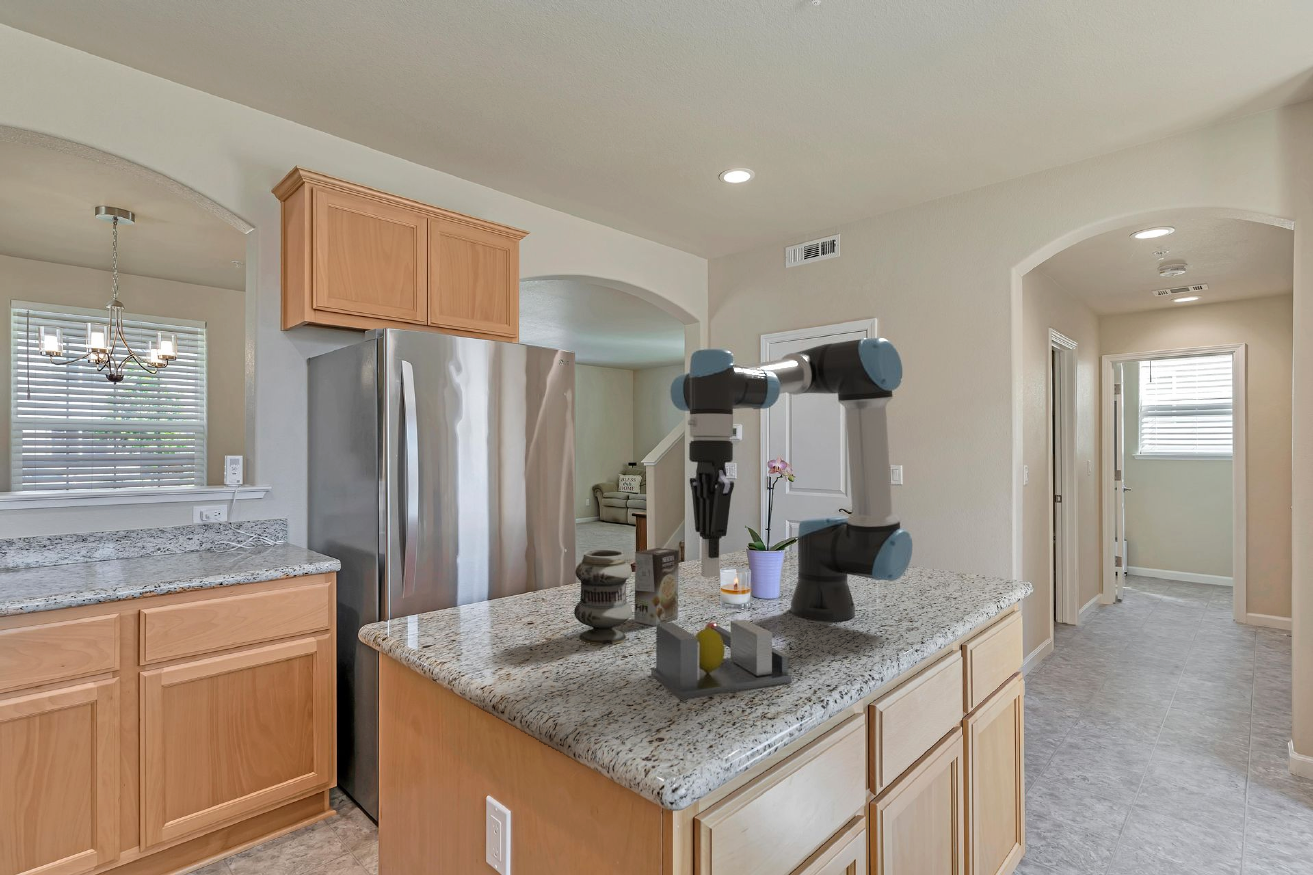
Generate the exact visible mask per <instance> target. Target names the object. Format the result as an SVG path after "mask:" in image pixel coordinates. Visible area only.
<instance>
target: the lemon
mask: <svg viewBox="0 0 1313 875" xmlns="http://www.w3.org/2000/svg"><path fill="white" fill-rule="evenodd" d="M705 627H706V626H705ZM694 636H695V637H697V638H698V642H699V668H700V669H702V670H704V671H705V673H706V674H710V673H711V672H712V671H713V670H715V669H717V668H718V667H719V666H720V665H721V663H722V661H723V659H724V658H725V645H724V644H723V640H722V638H721V636H720V634H719V633H718V632H716V631H715V630H713V629H711V628H710V627H706V628H704V629H700V630H699V631H698V632H697V633H696V634H695V635H694Z"/></svg>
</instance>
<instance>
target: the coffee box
mask: <svg viewBox="0 0 1313 875" xmlns="http://www.w3.org/2000/svg"><path fill="white" fill-rule="evenodd" d="M634 559H635V562H634V563H635V564H634V568H635V569H634V610H633V611H634V618H633V620H634V623H640V624H643V625H648V626H653V627H655V626H657V624H661V623H669V622H671V621H674V620H676V619H678V618H679V577H680V576H679V572H680V571H679V570H680V569H679V568H680V567H679V566H680V564H679V563H680V560H679V559H680V550H679V549H671V548H661V547H656V548H651V549H645V550H639V551H638V550H637V551H635V558H634Z"/></svg>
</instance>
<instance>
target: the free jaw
mask: <svg viewBox="0 0 1313 875" xmlns="http://www.w3.org/2000/svg"><path fill="white" fill-rule="evenodd" d="M706 627H710V628H711V629H713V630H715V631H716V632H718V633H719V634H720V636H721V638H722V640H723V644H724V646H725V647H727V648H729V649H730V658H731V660H732V661H734V662H735V663H737V664H738V665H740V666H742V667H743V668H745V669H746V670H748V671H750V672H751V673H753V674H755V675H756V676H759V675H766V674H772V648H773V632H772V631H769V630H767V629H766V628H764V627H761V626H759V625H758V624H755V623H754V622H751V621H749V620H747V619H740V620H739V619H737V620H736V619H735V620H731V621H730V631H729V630H727V629H725V628H723V627H721V626H719V625H718V624H717V623H715V622H709V623H707V624H706V626H705V628H706ZM705 628H704V629H705Z"/></svg>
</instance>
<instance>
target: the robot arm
mask: <svg viewBox="0 0 1313 875" xmlns="http://www.w3.org/2000/svg"><path fill="white" fill-rule="evenodd" d="M894 346H895V345H894V344H893V343H892V342H891V341H889V340H887V339H886V338H882V337H869V338H868V337H866V338H861V339H860V338H859V339H854V340H853V339H852V340H849V341H848V340H847V341H841V342H834V343H825V344H820V345H817V346H814V347H810V348H807V349H804V350H801V351H797V352H792V353H787V354H786V355H784V356H783V357H782V358H781V359H776V360H769V361H763V362H762V361H761V362H758V363H751V364H744V365H736V364H735V361H734V354H733V352H731V351H729V350H727V349H720V348H719V349H718V348H707V349H699V350H696V351H694V352H693V353H691V356H690V362H689V364H690V366H689V372H688V373H685V374H681V375H678V376H676V377H675V378H674V379H673V381H672V383H671V385H670V390H669V391H670V399H671V401H672V404H673V405H674V407H675V408H677V410H679V411H682V412H689V419H688V421H687V424H688V426H689V437H691V438H692V440H690V442H689V443H688V444H689V450H688V451H689V454H688V456H689V457H688V459H689V461H690V462H691V463H697V464H696V469H695V470H696V471H695V477H690V478H689V485H690V489H691V495H692V496H691V497H692V498H691V499H692V507H693V518H694V531H695V532H696V533H699V537H700V538H701V545H700V546H701V550H700V551H701V556H700V557H701V560H700V561H701V564H700V565H701V567H700V570H701V572H700V573H701V574H700V576H701V577H704V578H711V577H712V578H715V577H720V539H722V537H726V536H727V532H728V523H729V516H730V508H731V499H732V493H733V490H734V487H735V483H734V482H735V481H733V480H728V479H727V468H726V463H731V462H733V459H734V456H733V454H734V453H733V452H734V450H733V449H734V442H732V440H731V439H730V438H733V436H734V410H735V409H753V410H760V409H768V408H771V407H772V406H773V405H775V403H776V402H777V401H778V399H779V397H780V394H785V393H787V394H789V395H796V396H797V395H801V394H802V395H803V394H837V402H838V403H839V404H841V405H842V407H844V408H845V417H846V434H847V446H848V447H847V448H848V463H849V479H850V494H851V495H850V496H851V498H850V499H851V510H852V512H851V513H850V514H849V516H848V517H844V516H843V517H842V516H840V517H838V516H837V517H834V516H833V517H819V518H812V519H811V518H810V519H805V520H802V521H801V522H800V523H799V524H798V533H797V549H798V550H797V564H798V565H797V566H798V568H797V572H798V574H797V582H796V585H795V588H794V592H793V596H792V598H791V601H790V612H791V613H792V614H794V615H795V616H797V617H800V618H805V619H808V620H809V619H810V620H814V621H816V620H817V621H826V622H827V621H829V622H830V621H831V622H833V621H836V622H837V621H838V622H839V621H844V620H850V619H852V618H854V617H855V616H856V605H855V603H854V600H853V597H852V593H851V590H850V587H849V583H848V582H849V581H848V575H849V576H856V577H860V578H861V577H862V578H867V579H871V580H875V581H888V582H892V581H893V582H894V581H897V580H898V579H900V578H901V577H902V576H903V575H904V574H905V572H907V569H908V567H909V565H910V562H911V559H912V555H913V540H912V539H913V538H912V537H911V534H910V532H908V531H907V530H905V529H904V528H901V520H900V517H898V516H897V515H896V514H895V513H894V512H893V505H892V489H891V488H892V486H891V485H892V484H891V471H890V470H891V469H890V467H891V466H890V454H889V452H890V450H889V436H888V434H889V433H888V422H887V420H888V418H887V416H888V415H887V405H888V404H889V402H890V401H892V399H893V397H894V396H893V391H894V390H896V389H898V388H899V387H900V385H901V383H902V378H903V364H902V360H901V357H900V354H899V352H898V351H897V350H898V349H897V348H896V347H894Z"/></svg>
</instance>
